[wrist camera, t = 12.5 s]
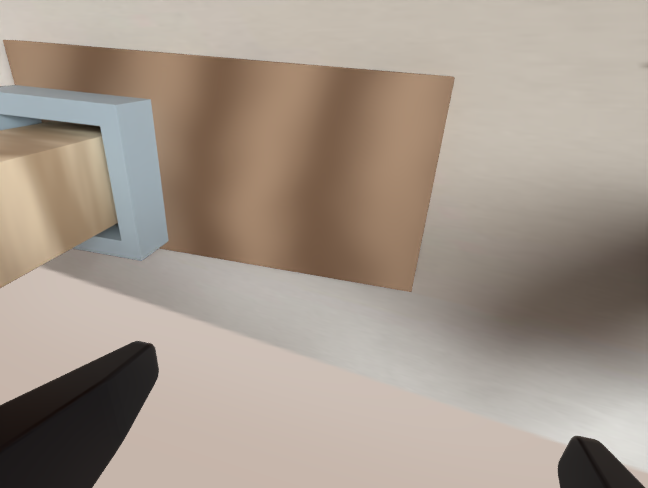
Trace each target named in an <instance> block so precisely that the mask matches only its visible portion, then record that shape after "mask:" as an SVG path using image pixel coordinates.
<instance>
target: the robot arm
mask: <svg viewBox="0 0 648 488" xmlns="http://www.w3.org/2000/svg"><path fill="white" fill-rule="evenodd" d="M158 372H159V368H158V363H157V356H156V350H155V347H154V346H153V344H150V343H145V342H141V341H135V342H132V343H130V344H128V345H126V346H124V347H122V348H120V349H117V350H115V351H113V352H111V353H109V354H107V355H105V356H103V357H101V358H99V359H97V360H94V361H92V362H90V363H88V364H86V365H84V366H82V367H80V368H78V369H76V370H73V371H71V372H69V373H67V374H65V375H63V376H61V377H59V378H57V379H55V380H52V381H50V382H48V383H46V384H44V385H42V386H40V387H38V388H36V389H33V390H32V391H30V392H27V393H25V394H23V395H21V396H19V397H17V398H15V399H13V400H10V401H9V402H6V403H4V404H2V405H0V488H92V487H93V486H94V484H95V483H96V481H97V480H98V478H99V477H100V475H101V474H102V472H103V471H104V469H105V468H106V466H107V465H108V463H109V462H110V460H111V459H112V458H113V456H114V455H115V453H116V451H117V450H118V448H119V447H120V445H121V444H122V442H123V440H124V439H125V437H126V435H127V433H128V432H129V430H130V428H131V426H132V424H133V423H134V421H135V419H136V417H137V415H138V413H139V412H140V410H141V408H142V406H143V404H144V402H145V400H146V399H147V397H148V395H149V393H150V391H151V390H152V388H153V386H154V384H155V382H156V380H157V377H158ZM558 477H559V483H560V488H645V487H644V486H643V485H642V484H641V483H640V482H639V481H638V480H637V479H636V478H635V477H634V476H633V475H632V474H631V473H630V472H629V471H628V470H627V469H626V467H625V466H624V465H623V464H622V463H621V462H620V461H619V460H618V459H617V458H616V457H615V456H614V455H613V454H612V453H611V452H610V451H609V450H608V449H607V448H606V447H605V446H604V445H603V444H602V443H600V442H599V441H597V440H595V439H591V438H586V437H581V436H574V437H572V438H571V440H570V442H569V443H568V445H567V447H566V449H565V451H564V453H563V455H562V457H561V458H560V461H559V464H558Z"/></svg>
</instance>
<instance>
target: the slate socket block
mask: <svg viewBox="0 0 648 488" xmlns="http://www.w3.org/2000/svg"><path fill="white" fill-rule="evenodd" d="M41 119H46V120H54V121H62V122H70V123H79V124H87V125H95V126H100V128H101V133H102V139H103V144H104V150H105V155H106V160H107V166H108V171H109V176H110V182H111V187H112V192H113V198H114V203H115V209H116V214H117V219H118V223H117V224H115V225H113V226H111V227H110V228H108V229H106V230H104V231H102V232H101V233H99V234H97V235H95V236H93V237H92V238H90V239H88V240H86V241H84V242H83V243H81V244H79V245H77V246H75V247H74V248H73V249H78V250H84V251H89V252H95V253H101V254H106V255H112V256H117V257H123V258H128V259H134V260H139V261H142V260H144V259H145V258H146V257H148V256H149V255H150V254H152V253H153V252H154V251H156V250H157V249H158V248H160V247H161V246H162V245H164V244H165V243H167V242H168V233H167V225H166V217H165V209H164V201H163V193H162V185H161V177H160V169H159V161H158V153H157V145H156V137H155V129H154V121H153V113H152V105H151V99H143V98H133V97H124V96H114V95H105V94H95V93H86V92H76V91H67V90H57V89H48V88H38V87H29V86H19V85H12V86H0V130H5V129H11V128H17V127H22V126H28V125H34V124H39V123H42V121H41Z"/></svg>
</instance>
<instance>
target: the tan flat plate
mask: <svg viewBox="0 0 648 488" xmlns="http://www.w3.org/2000/svg"><path fill="white" fill-rule="evenodd" d="M3 42H4V46H5V50H6V54H7V57H8V61H9V65H10V68H11V72H12V76H13V79H14V83H15V85H19V86H29V87H38V88H48V89H57V90H67V91H76V92H86V93H95V94H105V95H114V96H124V97H133V98H143V99H151V105H152V113H153V121H154V129H155V137H156V145H157V153H158V161H159V169H160V177H161V185H162V193H163V201H164V209H165V217H166V225H167V233H168V242H167V243H165V244H164V245H162V246H161V247H160V249H166V250H172V251H178V252H184V253H189V254H195V255H201V256H207V257H212V258H218V259H224V260H230V261H236V262H241V263H247V264H253V265H259V266H264V267H270V268H276V269H282V270H288V271H293V272H299V273H305V274H311V275H316V276H322V277H328V278H334V279H339V280H345V281H351V282H357V283H363V284H368V285H374V286H380V287H386V288H391V289H397V290H403V291H409V292H411V291H412V286H413V281H414V276H415V271H416V266H417V261H418V256H419V251H420V246H421V241H422V236H423V232H424V227H425V222H426V217H427V212H428V207H429V202H430V197H431V192H432V187H433V182H434V177H435V172H436V167H437V162H438V158H439V153H440V148H441V143H442V138H443V133H444V128H445V123H446V118H447V113H448V108H449V103H450V98H451V93H452V88H453V84H454V79H455V78H454V77H450V76H438V75H426V74H414V73H402V72H390V71H378V70H366V69H354V68H342V67H330V66H318V65H307V64H295V63H283V62H271V61H259V60H247V59H235V58H223V57H211V56H199V55H187V54H175V53H163V52H151V51H139V50H127V49H115V48H103V47H91V46H79V45H67V44H55V43H43V42H31V41H17V40H3ZM41 121H42V123H45V122H51V121H54V120H46V119H41ZM54 122H62V121H54ZM63 123H70V122H63ZM71 124H79V123H71ZM80 125H87V124H80ZM88 126H95V125H88ZM97 127H100V126H97Z"/></svg>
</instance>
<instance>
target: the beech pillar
mask: <svg viewBox="0 0 648 488" xmlns="http://www.w3.org/2000/svg"><path fill="white" fill-rule="evenodd" d="M117 223H118V219H117V214H116V209H115V203H114V198H113V192H112V187H111V182H110V176H109V171H108V166H107V160H106V155H105V150H104V144H103V139H102V133H101V128H100V127H97V126H88V125H80V124H71V123H63V122H54V121H51V122H45V123H39V124H34V125H28V126H22V127H17V128H11V129H5V130H0V288H2V287H3V286H5V285H7V284H9V283H11V282H12V281H14V280H16V279H18V278H19V277H21V276H23V275H25V274H27V273H29V272H30V271H32V270H34V269H35V268H38V267H39V266H41V265H43V264H45V263H47V262H48V261H50V260H52V259H54V258H56V257H57V256H59V255H61V254H63V253H65V252H66V251H68V250H70V249H72V248H74V247H75V246H77V245H79V244H81V243H83V242H84V241H86V240H88V239H90V238H92V237H93V236H95V235H97V234H99V233H101V232H102V231H104V230H106V229H108V228H110V227H111V226H113V225H115V224H117Z"/></svg>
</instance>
